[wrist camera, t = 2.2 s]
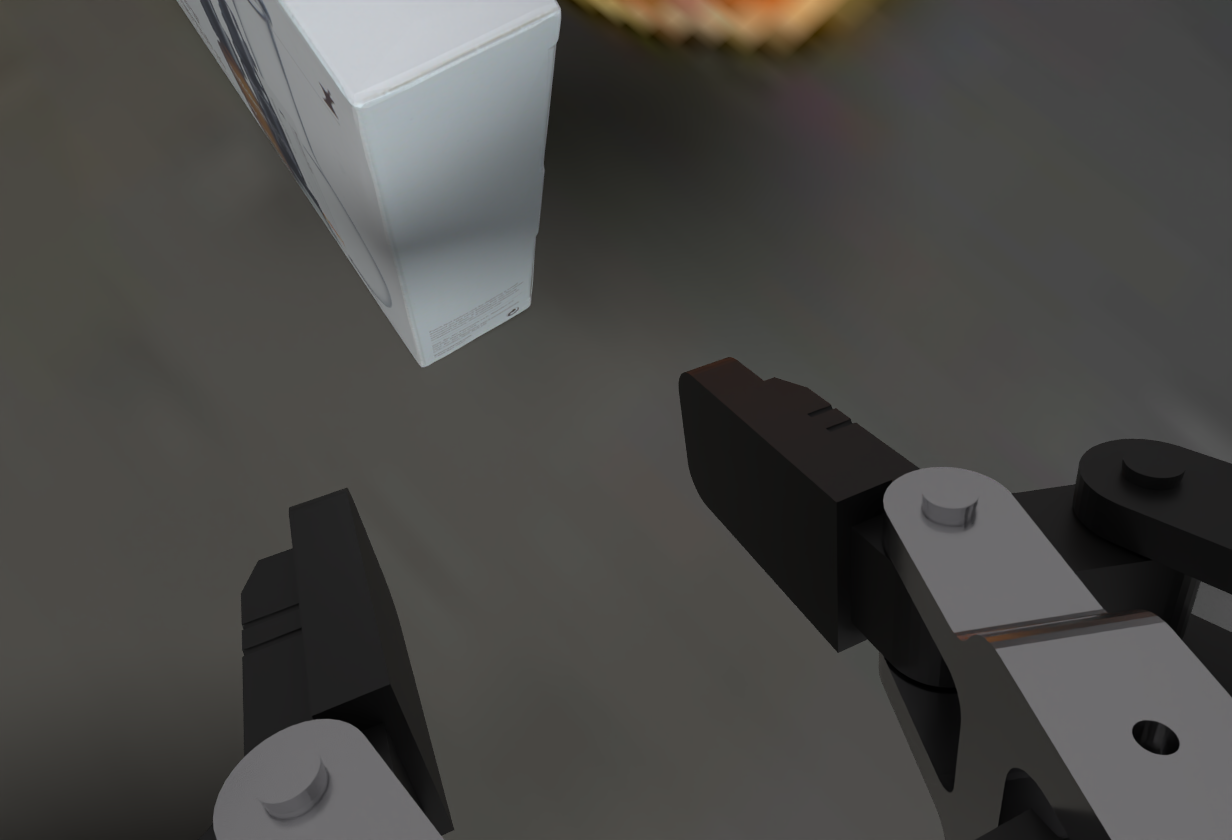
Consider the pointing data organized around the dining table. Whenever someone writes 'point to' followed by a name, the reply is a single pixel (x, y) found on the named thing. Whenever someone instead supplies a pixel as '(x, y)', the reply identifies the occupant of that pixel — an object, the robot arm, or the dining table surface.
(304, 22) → the skincare box
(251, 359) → the dining table surface
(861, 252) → the dining table surface
